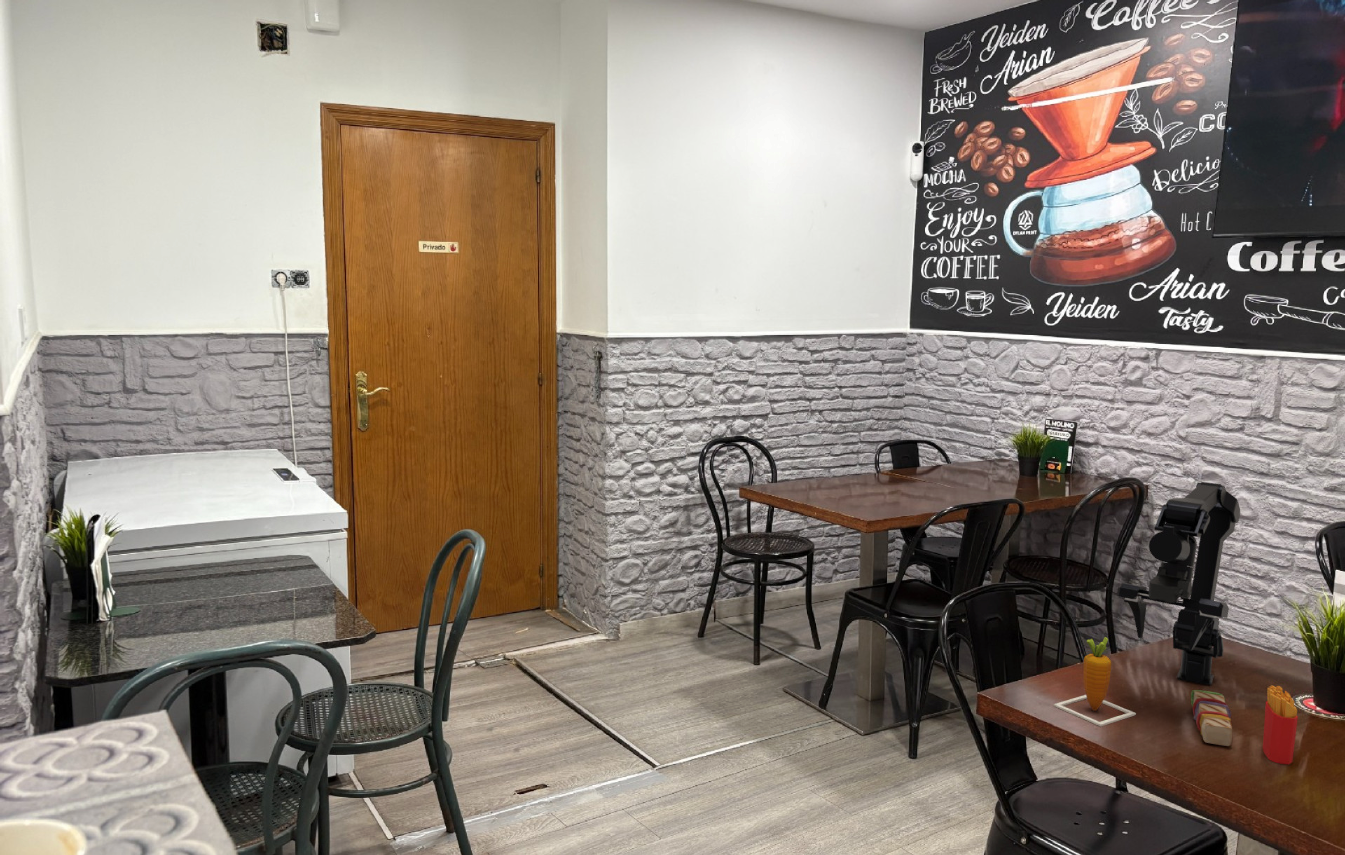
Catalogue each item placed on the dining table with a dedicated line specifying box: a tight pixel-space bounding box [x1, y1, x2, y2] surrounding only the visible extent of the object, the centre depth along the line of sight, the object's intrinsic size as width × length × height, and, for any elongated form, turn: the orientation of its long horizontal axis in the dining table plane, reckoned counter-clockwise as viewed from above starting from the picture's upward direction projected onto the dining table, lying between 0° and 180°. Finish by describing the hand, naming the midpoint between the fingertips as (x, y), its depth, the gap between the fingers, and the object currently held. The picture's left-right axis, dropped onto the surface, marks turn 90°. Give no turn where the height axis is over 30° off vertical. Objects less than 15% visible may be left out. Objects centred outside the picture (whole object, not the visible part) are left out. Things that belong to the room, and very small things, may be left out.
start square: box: [1053, 694, 1137, 727], centre depth 190 cm, size 11×11×1 cm
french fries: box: [1262, 684, 1299, 765], centre depth 171 cm, size 8×4×12 cm, turn 162°
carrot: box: [1083, 636, 1112, 712], centre depth 189 cm, size 5×5×15 cm
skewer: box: [1190, 689, 1234, 747], centre depth 184 cm, size 21×6×5 cm, turn 157°
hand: (1164, 644), depth 187 cm, fingers open, 9 cm apart
